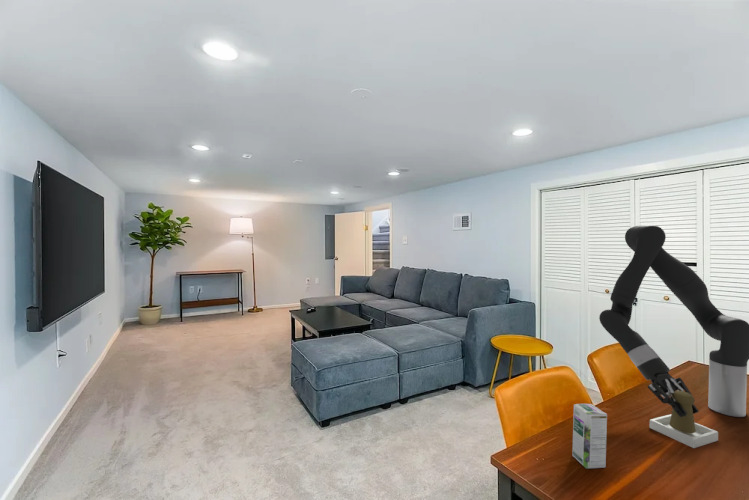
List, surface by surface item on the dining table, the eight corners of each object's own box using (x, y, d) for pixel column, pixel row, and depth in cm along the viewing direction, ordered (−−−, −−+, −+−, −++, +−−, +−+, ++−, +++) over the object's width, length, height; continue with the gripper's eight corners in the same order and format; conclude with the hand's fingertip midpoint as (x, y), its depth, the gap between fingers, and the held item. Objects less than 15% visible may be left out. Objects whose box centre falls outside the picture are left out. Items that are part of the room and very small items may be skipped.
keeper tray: (672, 421, 113) (673, 413, 113) (717, 440, 102) (718, 431, 102) (649, 427, 109) (649, 419, 109) (693, 448, 98) (694, 439, 98)
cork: (701, 434, 102) (701, 397, 102) (677, 431, 103) (678, 396, 103) (687, 423, 108) (687, 389, 108) (664, 421, 109) (665, 387, 109)
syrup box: (571, 455, 94) (572, 403, 94) (591, 454, 95) (592, 402, 95) (585, 469, 89) (586, 414, 88) (607, 468, 89) (608, 413, 89)
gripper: (642, 359, 110) (686, 413, 99) (670, 354, 115) (715, 406, 104) (624, 369, 115) (664, 422, 104) (652, 364, 120) (693, 414, 109)
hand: (689, 414), depth 104 cm, fingers closed on cork, 5 cm apart
